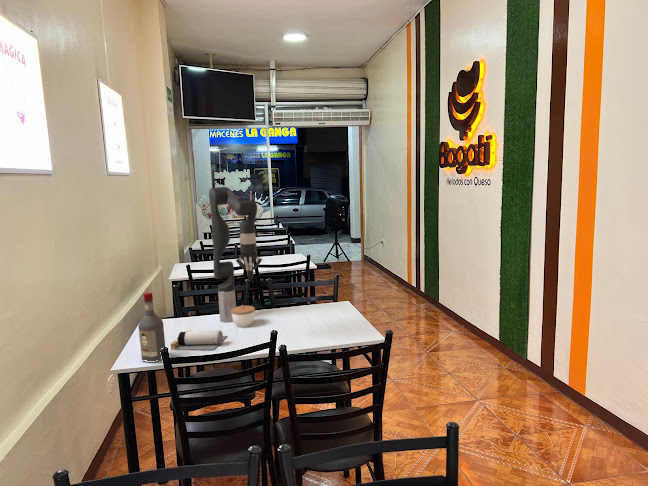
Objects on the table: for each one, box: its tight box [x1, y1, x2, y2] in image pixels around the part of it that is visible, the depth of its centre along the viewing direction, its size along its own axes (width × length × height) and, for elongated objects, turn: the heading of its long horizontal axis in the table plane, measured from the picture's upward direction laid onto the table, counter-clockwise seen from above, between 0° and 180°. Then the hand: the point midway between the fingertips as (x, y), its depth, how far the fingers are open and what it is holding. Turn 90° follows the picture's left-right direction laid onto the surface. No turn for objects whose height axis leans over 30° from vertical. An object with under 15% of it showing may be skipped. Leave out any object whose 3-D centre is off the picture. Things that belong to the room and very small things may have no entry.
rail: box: [170, 330, 190, 351], centre depth 216 cm, size 18×2×3 cm, turn 172°
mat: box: [174, 335, 228, 352], centre depth 215 cm, size 18×19×1 cm
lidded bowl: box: [231, 304, 256, 328], centre depth 239 cm, size 13×13×11 cm
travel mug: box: [176, 330, 224, 345], centre depth 212 cm, size 6×7×20 cm
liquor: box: [137, 292, 166, 361], centre depth 196 cm, size 9×9×30 cm
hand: (250, 277), depth 213 cm, fingers closed
